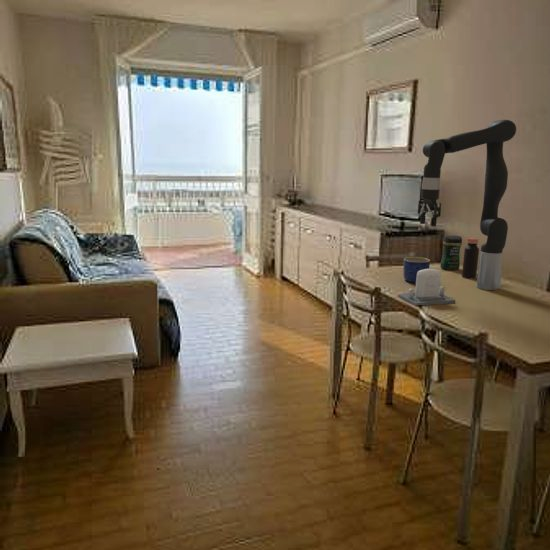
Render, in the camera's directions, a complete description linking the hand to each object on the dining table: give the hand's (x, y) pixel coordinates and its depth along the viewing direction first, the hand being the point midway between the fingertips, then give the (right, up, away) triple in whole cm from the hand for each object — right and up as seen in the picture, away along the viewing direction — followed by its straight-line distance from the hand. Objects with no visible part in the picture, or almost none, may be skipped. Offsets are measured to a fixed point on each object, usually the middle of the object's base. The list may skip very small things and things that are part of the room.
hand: (427, 225), depth 214 cm
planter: (+1, -25, +24) cm, 35 cm away
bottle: (+31, -24, +32) cm, 50 cm away
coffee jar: (+28, -19, +50) cm, 61 cm away
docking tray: (-3, -33, -8) cm, 34 cm away
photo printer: (-3, -32, -8) cm, 33 cm away
